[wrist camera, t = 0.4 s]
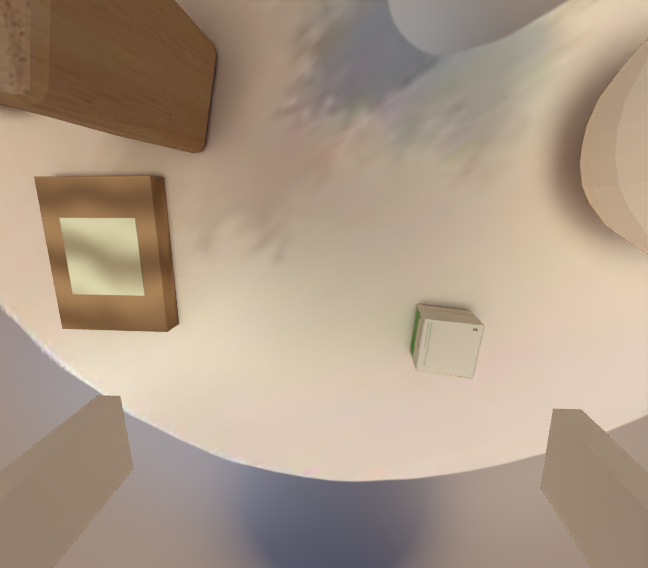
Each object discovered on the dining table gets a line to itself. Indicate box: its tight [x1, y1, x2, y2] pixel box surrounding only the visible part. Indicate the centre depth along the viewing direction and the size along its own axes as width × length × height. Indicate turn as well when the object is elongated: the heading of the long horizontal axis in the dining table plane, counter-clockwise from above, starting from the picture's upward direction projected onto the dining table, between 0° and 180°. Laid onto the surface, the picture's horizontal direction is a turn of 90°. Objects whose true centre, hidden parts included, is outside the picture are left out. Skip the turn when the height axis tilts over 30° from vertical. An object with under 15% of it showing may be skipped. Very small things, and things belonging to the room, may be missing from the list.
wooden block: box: [0, 0, 216, 153], centre depth 25 cm, size 10×10×20 cm
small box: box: [410, 304, 484, 379], centre depth 35 cm, size 6×6×5 cm
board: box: [34, 176, 179, 332], centre depth 37 cm, size 16×12×3 cm
